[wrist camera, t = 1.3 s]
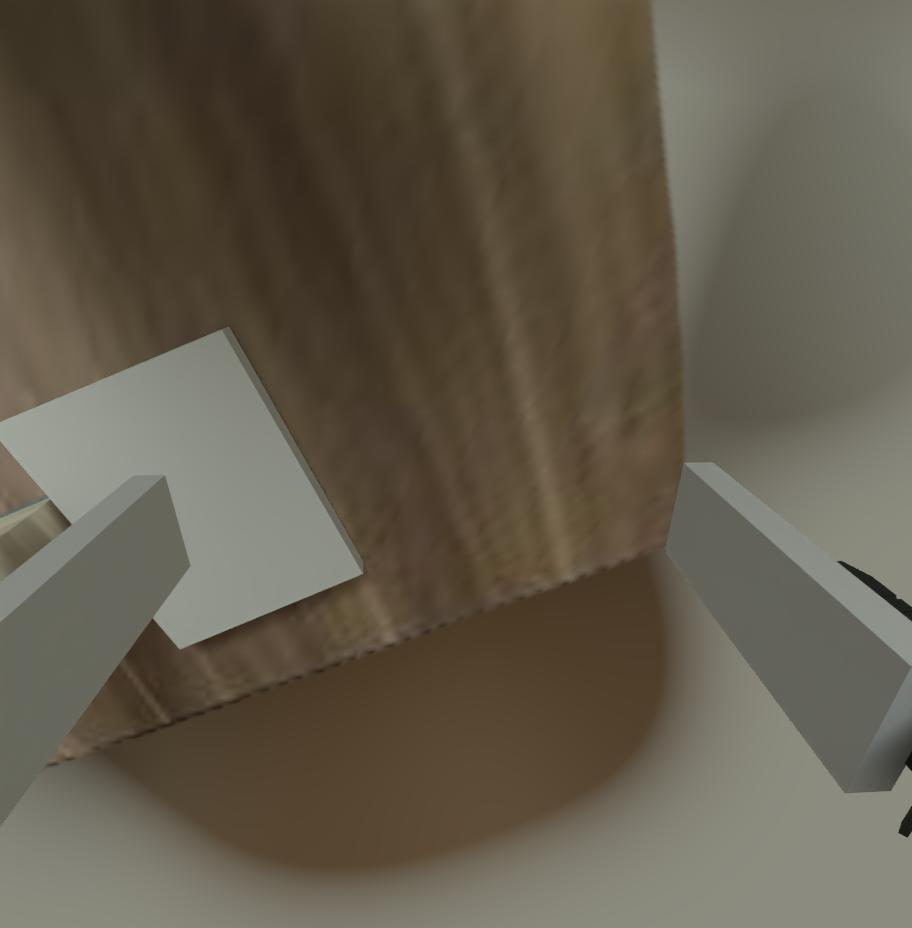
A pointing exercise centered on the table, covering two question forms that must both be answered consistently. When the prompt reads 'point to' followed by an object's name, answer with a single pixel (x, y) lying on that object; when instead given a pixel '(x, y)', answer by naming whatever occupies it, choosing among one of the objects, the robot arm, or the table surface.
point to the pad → (196, 480)
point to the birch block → (28, 533)
